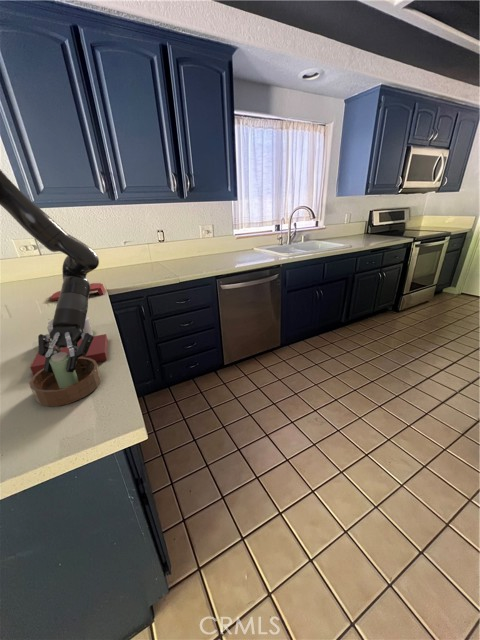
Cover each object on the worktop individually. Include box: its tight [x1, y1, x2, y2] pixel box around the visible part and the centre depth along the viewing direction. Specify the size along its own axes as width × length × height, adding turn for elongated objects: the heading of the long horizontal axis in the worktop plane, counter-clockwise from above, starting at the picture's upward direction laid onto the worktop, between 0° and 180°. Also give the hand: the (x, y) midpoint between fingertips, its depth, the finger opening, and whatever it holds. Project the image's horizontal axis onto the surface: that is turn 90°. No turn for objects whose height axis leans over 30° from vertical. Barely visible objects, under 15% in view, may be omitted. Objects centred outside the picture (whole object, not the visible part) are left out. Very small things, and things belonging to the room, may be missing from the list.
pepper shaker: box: [49, 352, 79, 389], centre depth 71 cm, size 5×5×10 cm
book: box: [29, 333, 109, 376], centre depth 88 cm, size 20×14×3 cm
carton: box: [49, 282, 106, 302], centre depth 145 cm, size 12×5×25 cm
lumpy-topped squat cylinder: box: [46, 315, 94, 341], centre depth 98 cm, size 10×13×9 cm
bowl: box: [29, 357, 102, 407], centre depth 72 cm, size 16×16×5 cm
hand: (59, 371), depth 69 cm, fingers closed on pepper shaker, 4 cm apart
